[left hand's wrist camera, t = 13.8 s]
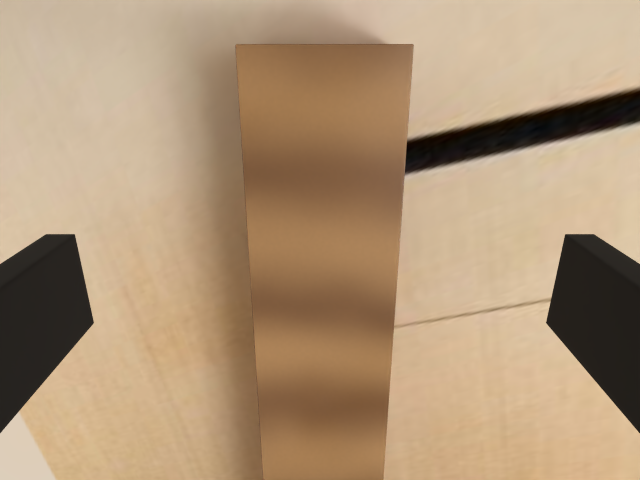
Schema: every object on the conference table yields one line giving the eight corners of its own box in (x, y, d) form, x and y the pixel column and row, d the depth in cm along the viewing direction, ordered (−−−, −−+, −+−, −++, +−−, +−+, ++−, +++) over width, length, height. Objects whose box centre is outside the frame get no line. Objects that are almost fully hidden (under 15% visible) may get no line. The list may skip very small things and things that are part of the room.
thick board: (253, 46, 31) (235, 44, 24) (393, 46, 31) (413, 44, 24) (283, 646, 56) (278, 724, 49) (360, 646, 56) (366, 724, 49)
